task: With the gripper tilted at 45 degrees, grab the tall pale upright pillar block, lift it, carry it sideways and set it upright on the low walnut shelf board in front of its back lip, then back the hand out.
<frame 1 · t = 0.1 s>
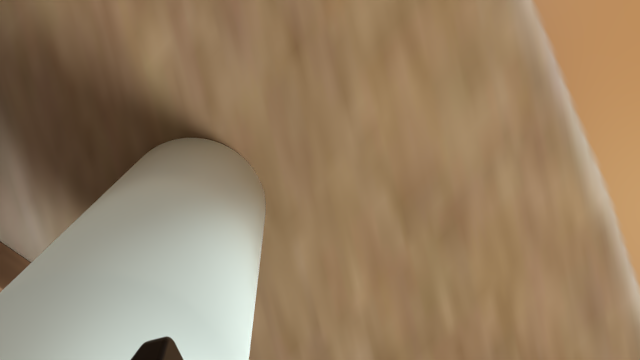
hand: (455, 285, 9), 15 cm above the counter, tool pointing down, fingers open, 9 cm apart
pale upright pillar block: (195, 206, 24), on the counter
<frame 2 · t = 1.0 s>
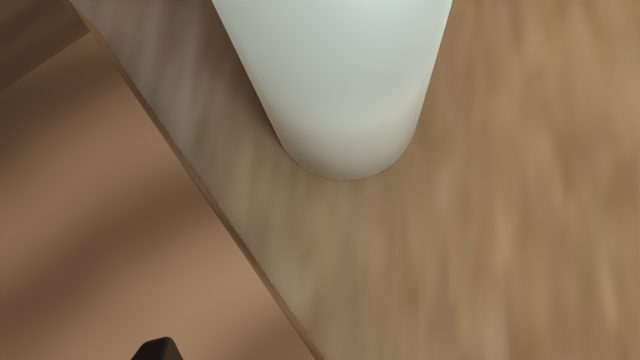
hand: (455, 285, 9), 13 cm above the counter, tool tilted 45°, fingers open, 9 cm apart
walnut shelf board: (97, 300, 23), on the counter
pale upright pillar block: (345, 110, 24), on the counter
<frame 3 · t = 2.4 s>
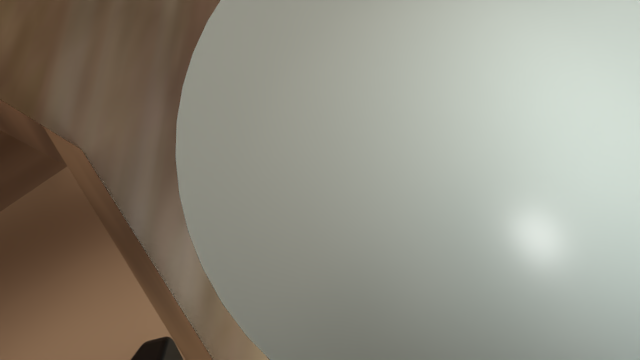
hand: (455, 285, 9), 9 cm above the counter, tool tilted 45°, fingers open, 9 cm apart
pale upright pillar block: (398, 262, 18), on the counter
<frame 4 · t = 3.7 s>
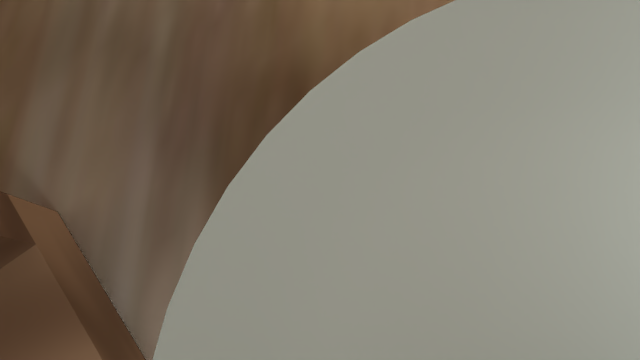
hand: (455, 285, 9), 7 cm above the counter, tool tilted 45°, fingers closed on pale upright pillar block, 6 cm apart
pale upright pillar block: (429, 351, 15), on the counter, touching gripper
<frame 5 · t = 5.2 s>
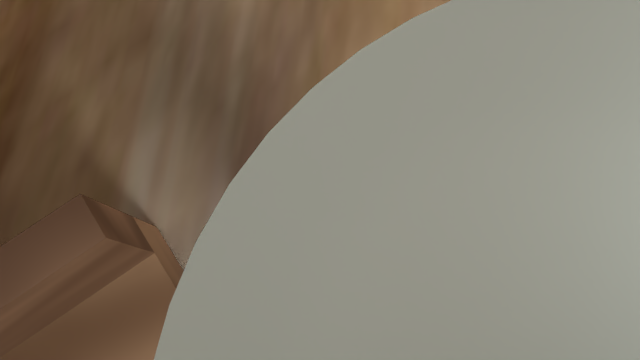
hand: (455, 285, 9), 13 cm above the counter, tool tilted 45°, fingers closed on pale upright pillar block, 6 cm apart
pale upright pillar block: (430, 351, 15), point 6 cm above the counter, touching gripper
when the fingers open (11 cm above the counter, at t = 7.1 s): pale upright pillar block drops 1 cm, resting on walnut shelf board.
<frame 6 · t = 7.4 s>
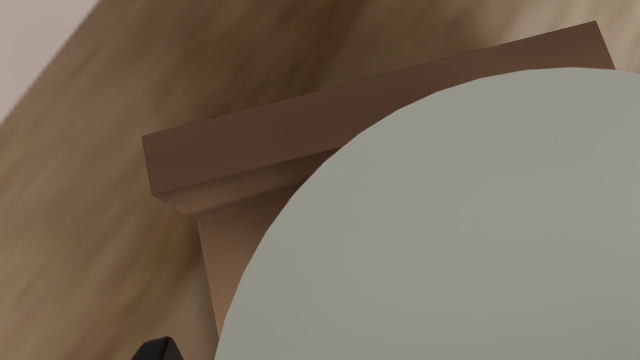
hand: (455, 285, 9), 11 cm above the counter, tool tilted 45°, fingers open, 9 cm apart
pale upright pillar block: (425, 352, 17), point 3 cm above the counter, touching walnut shelf board
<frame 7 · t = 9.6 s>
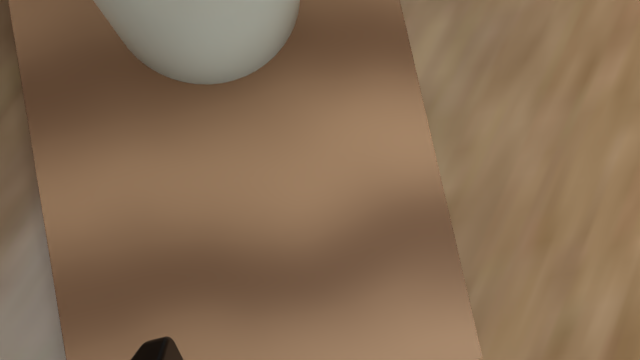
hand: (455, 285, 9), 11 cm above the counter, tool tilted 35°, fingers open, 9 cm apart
walnut shelf board: (230, 99, 20), on the counter
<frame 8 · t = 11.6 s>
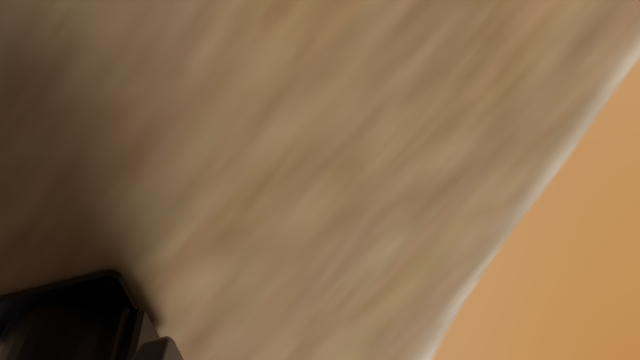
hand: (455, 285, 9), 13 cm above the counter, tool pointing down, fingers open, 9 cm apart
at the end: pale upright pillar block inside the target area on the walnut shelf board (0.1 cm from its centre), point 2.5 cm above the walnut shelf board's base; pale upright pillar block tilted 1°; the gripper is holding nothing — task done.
